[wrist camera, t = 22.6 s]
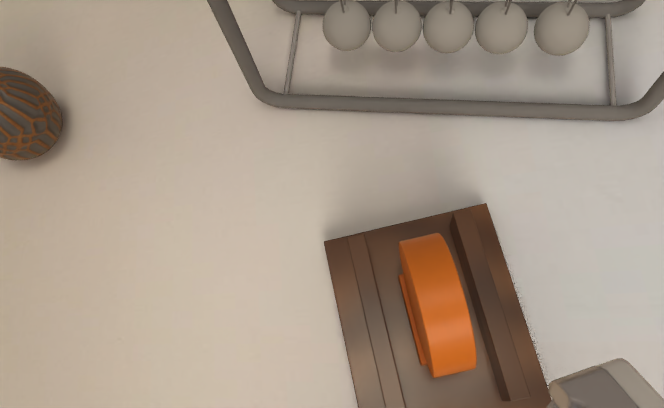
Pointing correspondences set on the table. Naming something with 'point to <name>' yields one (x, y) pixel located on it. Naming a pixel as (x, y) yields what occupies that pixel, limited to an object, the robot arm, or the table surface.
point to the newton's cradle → (445, 49)
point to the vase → (26, 116)
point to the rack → (395, 332)
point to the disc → (436, 306)
